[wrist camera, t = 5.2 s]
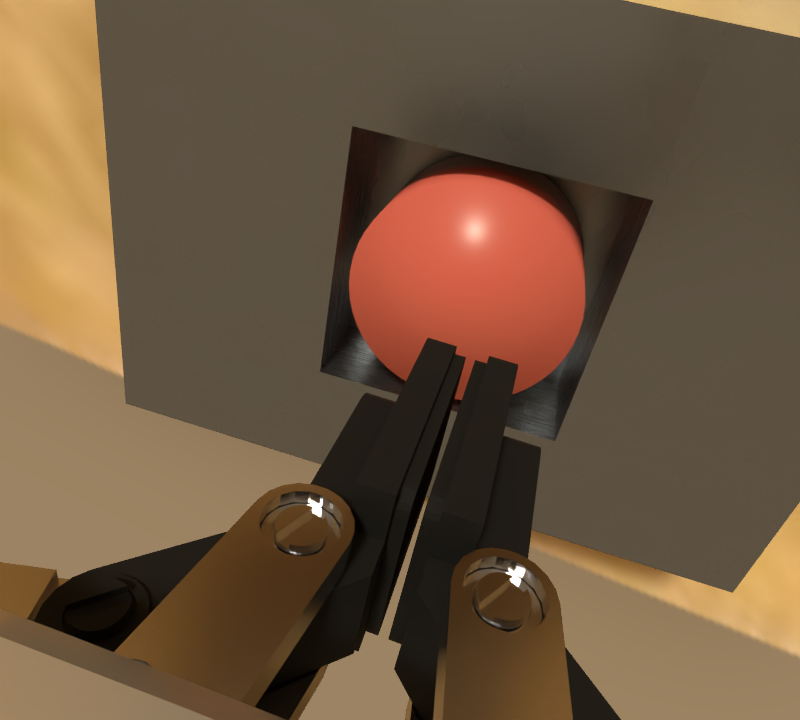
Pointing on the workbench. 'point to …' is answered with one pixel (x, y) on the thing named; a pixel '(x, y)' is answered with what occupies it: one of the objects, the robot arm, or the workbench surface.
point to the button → (472, 270)
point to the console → (502, 142)
